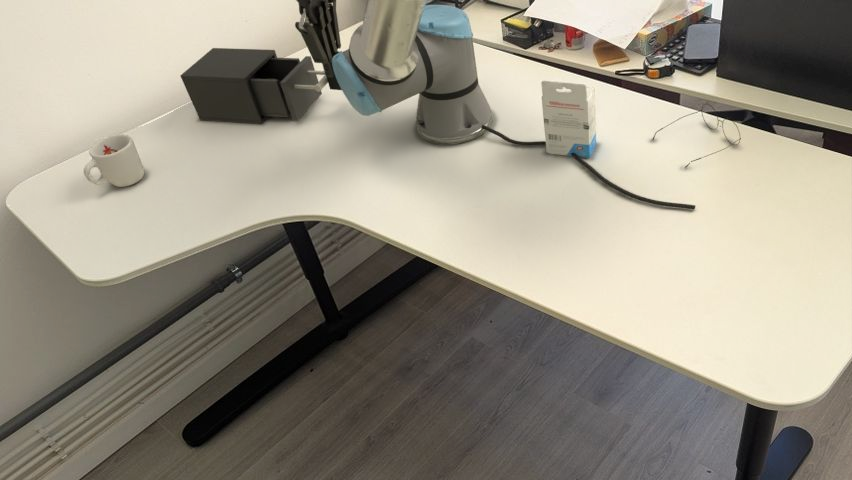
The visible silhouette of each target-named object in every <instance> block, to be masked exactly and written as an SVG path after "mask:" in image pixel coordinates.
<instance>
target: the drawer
mask: <svg viewBox="0 0 852 480" xmlns="http://www.w3.org/2000/svg"><path fill="white" fill-rule="evenodd" d="M318 76H322V78H321V79H320V80H318ZM273 79H278V80H279V81H281V82H280V84H281V87H282V90H283V93H284V96H283V93H282V90H281V87H280V84H279V81H278V80H273ZM248 82H249V85H250V88H251V90H252V93H253V96H254V98H255V101H256V104H257V106H258V109H259V112H260V114H261V116H269V117H276V118H290V117H291V119H292V121H293V122H299V121H300V120H301V118H302V117H303V116H304V115H306V113H307V112H308V110H310V108H311V107H312V106H313V105H314V104H315V102H317V100H318V99H320V97H321V96H322V94H323V92H322V90H323V89H324V88H325V87H326V86H327V84H328V80H327V77H326V75H325V71H324V70H316V69H315V66H314V61H313V58H312V56H311V55H305V56H304V58H302V59H301V60H300V58H298V57H277V58H272V57H271V58H270V59H269V60H268V61H267V62H266V63H265V64H264V65H263V66H262V67H261V68H260V69H259V70H258V71H257V72H256V73H255V74H254V75H253V76H251V77H250V78H249V79H248Z"/></svg>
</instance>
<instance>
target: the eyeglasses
mask: <svg viewBox="0 0 852 480" xmlns="http://www.w3.org/2000/svg"><path fill="white" fill-rule="evenodd" d="M705 105H706V103H703V105H702V106H701V110H698V111H695V112H692V113H689V114H687V115H684V116H682V117H679V118H678V119H676V120H674V121H672V122H670V123H669V124H667V125H665V126H663V127H662V128H660V129H658V130H656V131H655V133H654V135H653V138H652V139H651V141H654V139H655V137H656V134H657V133H658V132H660V131H662V130H663V129H665V128H667V127H668V126H670V125H672V124H674V123H675V122H677V121H679V120H681V119H683V118H685V117H688V116H691V115H694V114H697V113H700V112H703V109H704V108H703V107H704V106H705ZM707 106H710V107H711V109H712V110H713V112H714V113H715V116H716V119H717V123H716V125H717V126H716V128H712V127H710V126H709V125H708V124H707V122H706V120H705V117H704V114H703V113H701V116H702V119H703V121H704V123H705V124H706V126H707V127H708V128H709V129H711V130H717V129H718V127H721V128H722V132H723V135H724V137H725V139H726V140H727V141H728V142H729V143H730V145H728V146H726V147H725V148H723V149H719V150H718V151H715V152H712V153H710V154H707V155H704V156H702V157H699V158H695V159H694V160H691V161H690V162H691V163H692V162H696V161H698V160H701V159H703V158H706V157H708V156H711V155H713V154H716V153H719V152H721V151H724V150H726V149H728V148H730V146H732V145H733V146H737V145H740V142H741V139H742V138H741V137H739V139H737V140H736V141H734V142H731V141H730V140H729V139H728V137H727V136H726V133H725V130H724V122H725V121H726V120H730V121H731V122H733V120H732V119H731V118H724V119H723V120H720V119H719V117H718V114H717V112H716V110H715V108H714V107H713V106H712V105H711V104H709V103H707ZM719 122H720V123H721V125H722V126H721V125H719V124H720V123H719ZM733 124H734V125H735V126H736V128H737V131H738V135H739V136H741V132H740V130H739V127H738V126H737V124H736V123H735V122H733ZM736 142H738V143H737V144H735V143H736ZM690 162H689V163H688V164H686V166H685V168H686V169H687V168H688V166H690V164H691V163H690Z"/></svg>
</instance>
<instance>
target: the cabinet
mask: <svg viewBox="0 0 852 480" xmlns="http://www.w3.org/2000/svg"><path fill="white" fill-rule="evenodd" d="M271 57H272V58H278V55H277V52H276V50H275V49H262V48H261V49H259V48H257V49H256V48H228V47H226V48H225V47H221V48H220V47H212V48H211V49H210V50H209V51H207V52H206V53H205V54H204V55H203V56H202V57H200V59H198V60H197V61H196V62H194V63H193V64H192V65H191V66H189V68H187V69H186V70H184V72H182V73H181V74H180V79H181V80H182V83H183V86H184V87H185V90H186V92H187V94H188V97H189V99H190V101H191V103H192V105H193V106H192V107H193V108H194V110H195V113H196V115H197V117H198V119H199V121H207V122H208V121H209V122H222V123H239V124H254V125H255V124H256V125H262V124H264V122H265V121H266V120H267V119H268V118H269V117H270V116H261V114H260V112H259V109H258V106H257V104H256V101H255V98H254V96H253V93H252V90H251V88H250V85H249V82H248V79H249V78H250V77H251V76H253V75H254V74H255V73H256V72H257V71H258V70H259V69H260V68H261V67H262V66H263V65H264V64H265V63H266V62H267V61H268V60H269V59H270V58H271Z"/></svg>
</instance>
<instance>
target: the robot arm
mask: <svg viewBox="0 0 852 480" xmlns="http://www.w3.org/2000/svg"><path fill="white" fill-rule="evenodd" d="M295 1H296V2H297V3H298V12H299V15H300V20H299V21H296V22H295V23H294V26H295V29H296V30H297V31H298V32H299V33H300V34H301V37H302V39H303V41H304V44H305V46H306V47H307V49H308V52H309V53H310V56H311V59H312V61H313V63H315V64H321V65H322V68H323V71H325V75H326V77H327V80H328V83H327V84H328V87H329V90H334V91H342V93H343V95H344V96H345V98H346V99H347V101H348V103H349V105H350V106H352V108H353V109H354V110H355V111H356V112H357V113H358V114H360V115H362V116H364V117H368V116H369V117H370V116H371V115H374V114H377V113H382V112H383V111H384V110H386V109H388V108H391V107H393V106H394V105H397V104H399V103H401V102H403V101H405V100H408V99H410V98H412V97H414V96H416V95H418V100H417V106H416V107H417V108H416V115H415V126H416V130H417V134H418V135H419V136H420V138H422V139H423V140H425V141H426V142H429V143H432V144H436V145H456V144H457V145H458V144H462V143H466V142H470V141H472V140H475V139H477V138H479V137H481V136H483V135H484V134H485V133H486V132H489V133H491V134H493V135H495V136H497V137H499V138H500V139H502V140H504V141H505V142H507V143H510V144H513V145H517V146H526V147H527V146H528V147H529V146H531V147H533V146H546V140H542V141H541V140H540V141H520V140H515V139H512V138H510V137H508V136H506V135H505V134H503V133H502V132H500V131H497V130H495V129H493V128H491V126H492V124H493V121H494V119H493V112H492V109H491V106H490V104H489V102H488V99H487V98H486V96H485V93H484V92H483V90H482V88H481V86H480V83H479V77H478V69H477V62H476V53H475V46H474V40H473V39H474V38H473V37H474V33H473V31H472V30H473V29H472V25H471V22H470V18H469V16H468V14H467V13H466V12H465V11H464V10H463V9H461V8H458V7H455V6H452V5H447V4H427V1H428V0H366V4H365V10H364V11H365V12H364V15H363V20H362V24H360V25H359V26H358V27H357V28H356V29H355V30H354V31H353V33H352V35H351V37H350V40H349V44H348V45H349V47H348V48H347V49H346V50H343V51H342V50H340V49H341V48H342V41H341V36H340V29H339V21H338V14H337V13H338V12H337V0H295ZM339 50H340V51H339ZM325 75H324V76H325ZM571 155H572V156H571V157H573V158H574V159H575V160H576V161H577V162H578V163H580V165H582V166H583V167H585V168H586V169H587V170H588V171H589V172H591V174H593V175H594V177H596V178H597V179H599V180H600V181H601V182H602V183H604V184H605V185H606V186H609V187H610V188H612V189H613V190H615V191H617V192H619V193H621V194H623V195H625V196H627V197H629V198H631V199H634V200H637V201H640V202H643V203H647V204H651V205H655V206H662V207H668V208H678V209H687V210H694V211H695V210H696V204H689V203H678V202H669V201H663V200H662V201H661V200H657V199H652V198H648V197H645V196H641V195H640V194H639V195H638V194H635V193H633V192H630V191H628V190H626V189H625V188H622V187H621V186H618V185H617V184H616V183H613V182H612V181H610V180H608V178H605V177H604V176H603V175H601V174H600V173H599V171H597V170H596V169H595V168H594V167H593V166H592V165H590V164H589V163H588V162H587V161H585V160H584V159H582V157H579V156H578V155H577V154H576V153H571Z"/></svg>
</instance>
